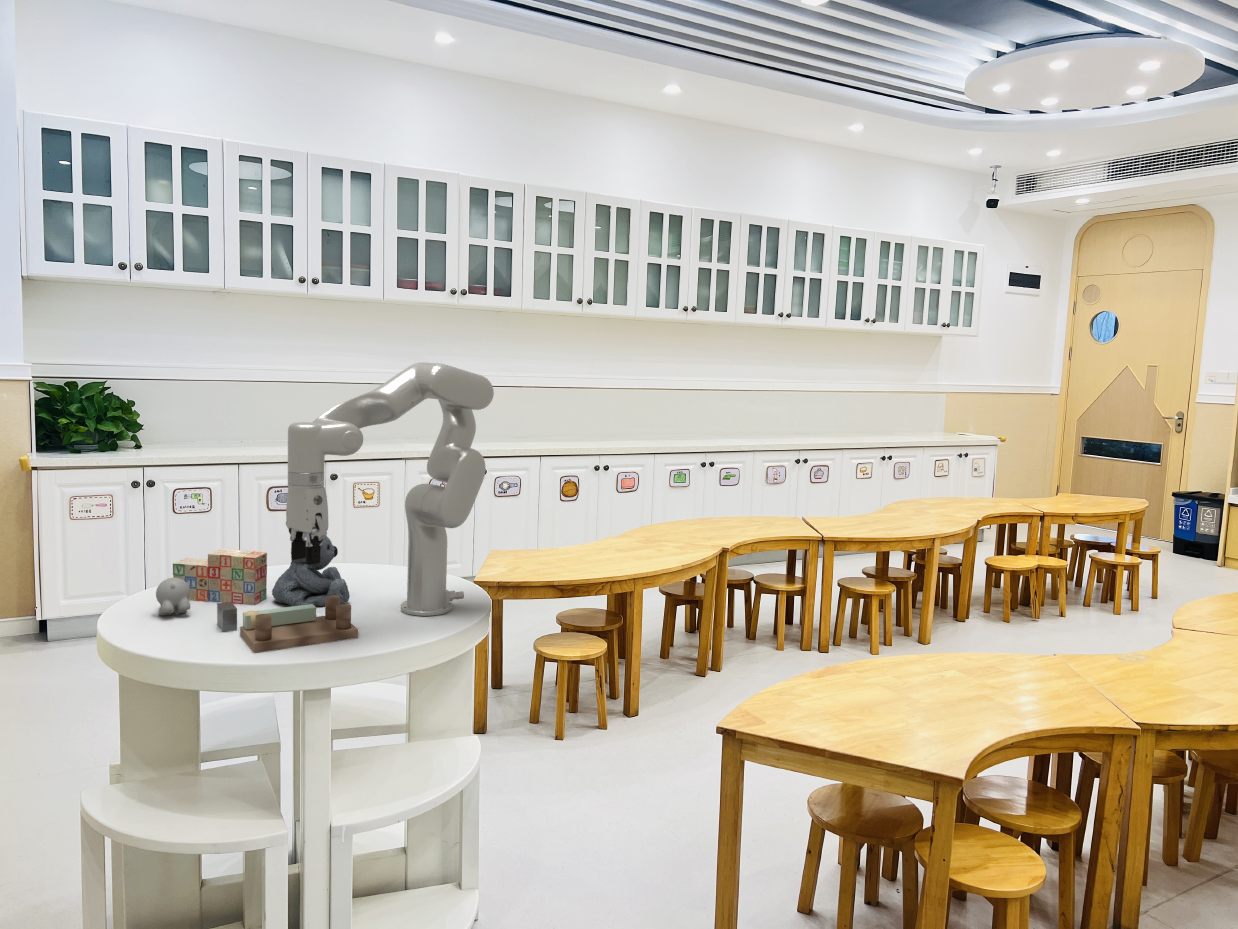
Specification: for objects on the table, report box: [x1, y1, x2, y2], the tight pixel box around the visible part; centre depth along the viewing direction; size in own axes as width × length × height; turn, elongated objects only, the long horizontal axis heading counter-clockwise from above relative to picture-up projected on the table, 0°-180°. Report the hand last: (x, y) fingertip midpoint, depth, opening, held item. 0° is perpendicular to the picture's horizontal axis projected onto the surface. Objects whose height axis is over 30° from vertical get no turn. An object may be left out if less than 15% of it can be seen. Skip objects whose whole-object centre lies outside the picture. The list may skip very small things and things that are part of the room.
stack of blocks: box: [172, 548, 268, 606], centre depth 219 cm, size 21×6×12 cm, turn 85°
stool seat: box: [239, 595, 359, 654], centre depth 194 cm, size 22×13×7 cm, turn 125°
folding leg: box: [242, 604, 317, 629], centre depth 196 cm, size 15×3×3 cm, turn 125°
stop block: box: [216, 602, 238, 633], centre depth 198 cm, size 3×6×5 cm, turn 35°
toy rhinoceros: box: [155, 577, 191, 617], centre depth 207 cm, size 7×12×8 cm, turn 35°
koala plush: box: [271, 529, 350, 608], centre depth 221 cm, size 17×18×20 cm
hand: (305, 560), depth 192 cm, fingers open, 5 cm apart
